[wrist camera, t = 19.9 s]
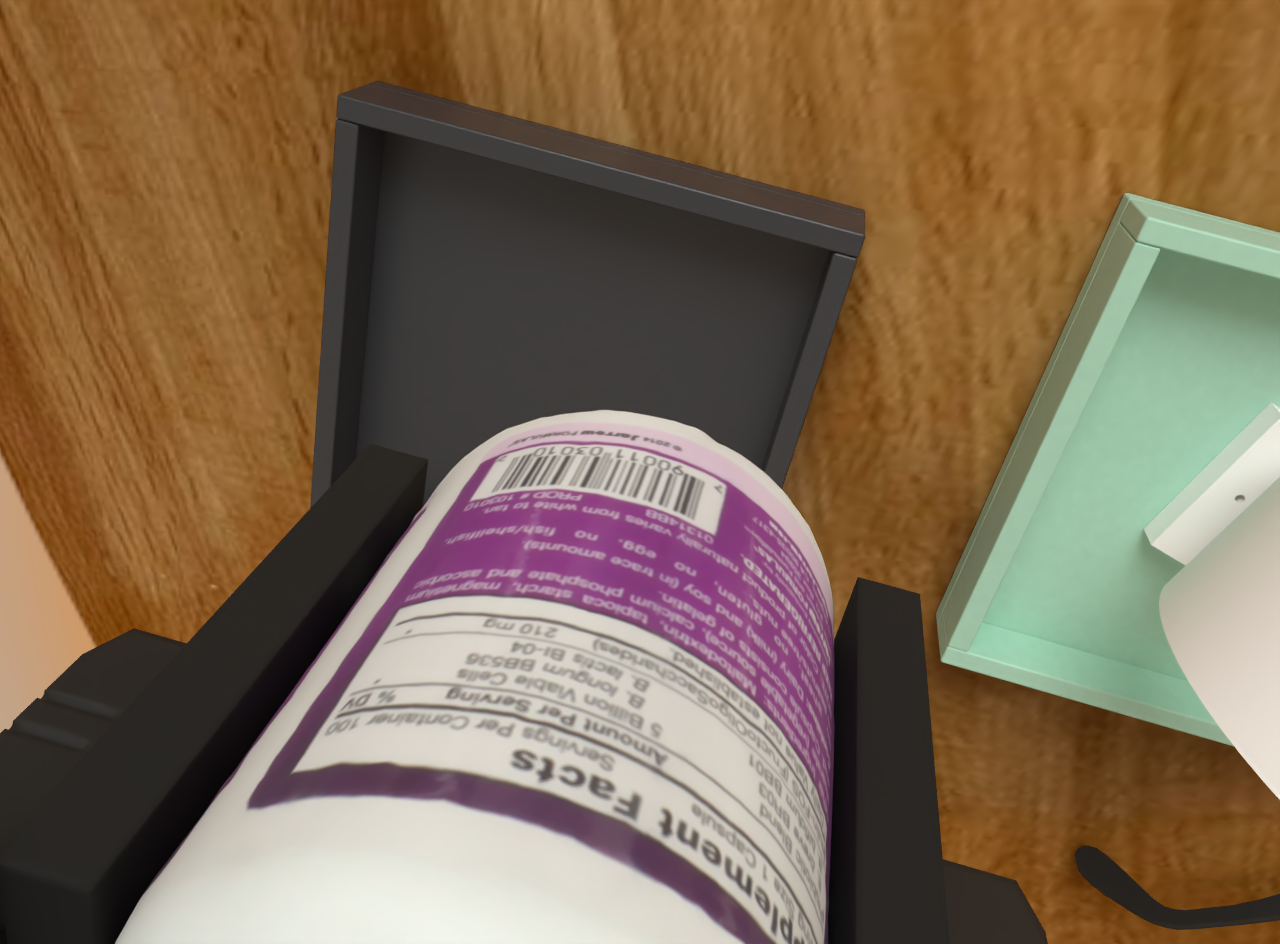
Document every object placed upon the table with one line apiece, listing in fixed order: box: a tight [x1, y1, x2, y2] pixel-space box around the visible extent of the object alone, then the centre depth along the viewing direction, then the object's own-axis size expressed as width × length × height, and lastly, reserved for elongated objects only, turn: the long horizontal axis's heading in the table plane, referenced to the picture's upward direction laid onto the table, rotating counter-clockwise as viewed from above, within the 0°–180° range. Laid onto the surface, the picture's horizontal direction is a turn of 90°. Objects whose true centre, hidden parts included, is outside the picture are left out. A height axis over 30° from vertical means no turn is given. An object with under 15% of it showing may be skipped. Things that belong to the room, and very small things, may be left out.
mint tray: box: [936, 193, 1280, 746], centre depth 27 cm, size 13×13×2 cm
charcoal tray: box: [310, 81, 865, 508], centre depth 29 cm, size 13×13×2 cm
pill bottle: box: [115, 410, 835, 944], centre depth 9 cm, size 5×5×10 cm
